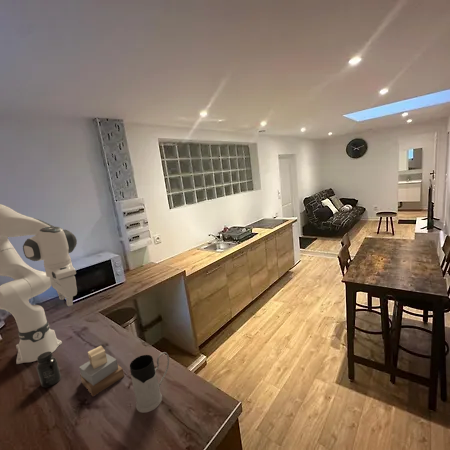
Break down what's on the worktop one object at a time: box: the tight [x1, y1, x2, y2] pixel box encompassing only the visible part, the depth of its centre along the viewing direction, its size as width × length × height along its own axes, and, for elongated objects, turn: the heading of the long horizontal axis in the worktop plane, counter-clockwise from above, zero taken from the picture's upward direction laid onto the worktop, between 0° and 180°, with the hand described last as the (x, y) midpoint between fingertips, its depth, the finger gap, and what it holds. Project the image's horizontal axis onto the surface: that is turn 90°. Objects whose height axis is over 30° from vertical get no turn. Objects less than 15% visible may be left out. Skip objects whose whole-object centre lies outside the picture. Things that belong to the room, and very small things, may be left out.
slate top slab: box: [79, 353, 119, 386], centre depth 101 cm, size 10×10×4 cm
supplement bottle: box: [36, 352, 62, 388], centre depth 104 cm, size 7×7×12 cm
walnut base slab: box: [79, 364, 125, 397], centre depth 102 cm, size 12×12×4 cm
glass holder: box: [129, 351, 170, 413], centre depth 89 cm, size 9×14×15 cm, turn 135°
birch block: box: [87, 345, 107, 369], centre depth 101 cm, size 5×5×5 cm
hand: (66, 302), depth 101 cm, fingers open, 8 cm apart
